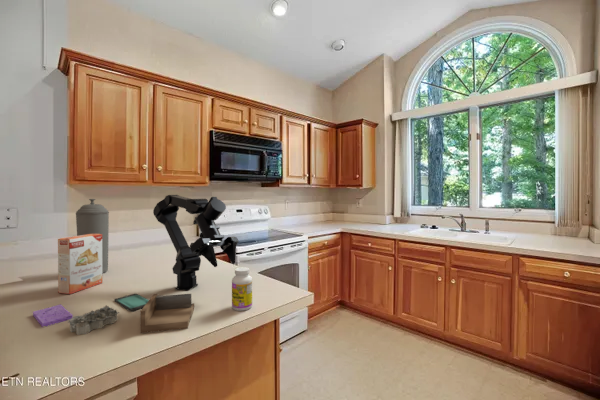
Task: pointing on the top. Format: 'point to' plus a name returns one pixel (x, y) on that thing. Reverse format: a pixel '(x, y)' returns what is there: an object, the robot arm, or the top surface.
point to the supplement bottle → (242, 289)
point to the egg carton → (93, 320)
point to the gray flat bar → (173, 302)
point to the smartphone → (132, 302)
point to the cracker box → (79, 262)
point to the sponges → (52, 315)
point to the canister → (94, 226)
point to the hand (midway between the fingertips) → (225, 265)
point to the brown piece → (163, 317)
